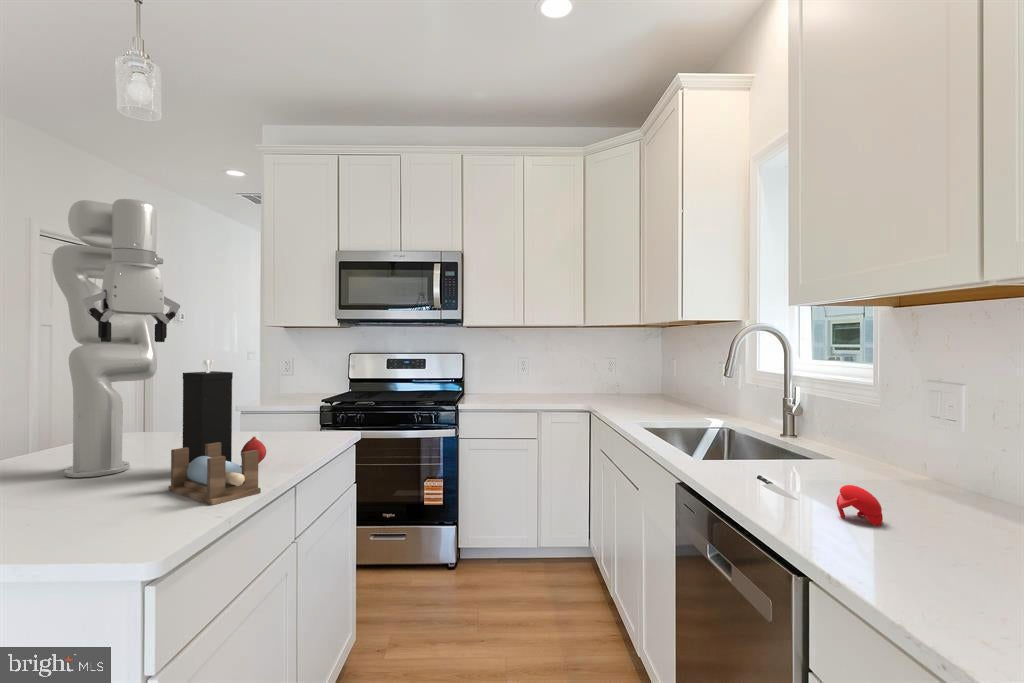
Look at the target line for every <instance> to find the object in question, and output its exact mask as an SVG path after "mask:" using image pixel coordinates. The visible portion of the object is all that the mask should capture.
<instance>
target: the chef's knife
mask: <svg viewBox="0 0 1024 683" xmlns="http://www.w3.org/2000/svg"><path fill="white" fill-rule="evenodd" d="M756 479H758V480H760V481H762V482H763V483H765V484H763V485H761V486H762V487H763V488H766V489H767V490H769V491H771V492H773V493H775V494H778V495H779V496H782V497H785V498H787V499H791V500H794V501H799V499H798V498H796V497H795V496H793V495H792V494H790V493H789V492H787V491H786V490H784V489H783V488H781V487H779V486H778V485H776V484H775V483H773V482H771V480H769V479H767V478H765V477H764V476H762V475H757V477H756Z"/></svg>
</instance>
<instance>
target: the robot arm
mask: <svg viewBox="0 0 1024 683" xmlns="http://www.w3.org/2000/svg"><path fill="white" fill-rule="evenodd" d="M157 216H158V215H157V210H156V207H155V205H153V204H152V203H150V202H147V201H143V200H139V199H132V198H119V199H115V200H114V201H113V203H107V202H101V201H96V200H95V201H94V200H89V199H88V200H87V199H83V200H82V199H81V200H77V201H75V202H74V203H73V204H72V205H71V206H70V208H69V211H68V217H67V222H68V224H67V225H68V228H69V230H70V233H71V234H72V235H73V236H74V237H75V238H78V240H80V241H81V242H82V243H84V244H85V245H82V244H65V245H61V246H58V247H57V248H55V250H54V251H53V253H52V259H51V264H52V265H51V266H52V271H53V276H54V278H55V281H56V283H57V286H58V287H59V288H60V291H61V292H62V294H63V296H64V297H65V299H66V302H67V304H68V305H67V306H68V315H69V320H70V327H71V332H72V336H73V338H74V340H75V341H76V342H77V343H78V344H80V345H78V346H77V347H75V348H73V349H72V350H71V351H70V353H69V356H68V367H69V374H70V378H71V385H72V399H73V400H72V401H73V402H72V410H73V411H72V412H73V413H72V414H73V415H72V416H73V417H72V420H73V422H72V425H73V426H72V433H73V434H72V466H71V467H68V468H66V469H65V470H64V472H63V475H64V476H65V477H67V478H93V477H101V476H107V475H112V474H117V473H121V472H124V471H127V470H129V469H130V467H131V464H130V462H128V461H123V419H124V418H123V410H124V409H123V405H124V404H123V403H124V402H123V398H122V396H121V394H120V393H119V392H118V391H117V390H116V389H115V388H113V387H112V386H111V383H116V382H134V381H135V382H137V381H146V380H149V379H151V378H153V377H154V376H155V375H156V373H157V369H158V360H157V354H156V349H155V345H154V342H155V343H165V340H166V338H167V336H168V335H167V334H168V333H167V330H168V328H167V327H168V326H167V325H168V324H169V323H170V321H172V319H174V318H175V317H176V316H177V315H176V314H177V313H178V312H179V310H180V308H181V305H180V304H179V303H177V302H176V301H173V300H172V299H170V298H168V297H167V296H164V295H165V294H164V284H163V279H162V274H161V271H160V270H161V269H159V268H157V267H158V265H163V264H164V258H162V257H159V256H158V254H157V220H158V219H157ZM90 279H94V280H95V279H96V280H102V285H101V287H100V286H99V285H97V283H94V282H93V281H91V280H90ZM165 306H167V307H169V310H168V312H167V313H164V311H165V310H164V309H165ZM145 315H148V316H149V315H150V316H151V317H152V318H153V319H154V320H155V321H156V322H157V323H155V324H154V341H153V335H152V331H151V326H150V323H149V320H148V318H147V317H146V316H145Z"/></svg>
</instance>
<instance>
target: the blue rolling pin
mask: <svg viewBox="0 0 1024 683" xmlns="http://www.w3.org/2000/svg"><path fill="white" fill-rule="evenodd" d="M208 458H212V457H208V456H200V457H197V458H196V459H194V460H193V461H192V462H191V463H189V466H188V469H187V477H188V479H189V480H190V481H193V482H196V483H199V484H202V485H206V486H207V459H208ZM244 480H245V477H244V475H243V474H242V466H240V465H239V464H238V463H237V462H233V461H232V462H229V461H226V477H225V487H226V486H230V485H236V486H239V485H241V484H243V482H244Z"/></svg>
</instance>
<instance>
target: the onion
mask: <svg viewBox="0 0 1024 683" xmlns="http://www.w3.org/2000/svg"><path fill="white" fill-rule="evenodd" d="M266 448H267V447H266V446H265V444H264V443H263V442H262V441H260V440H258V437H257V436H256V435H254V436H252V438H251V439H250V440H248V441H247V442H245V444H244V445H243V447H242V448H241V451H240V457H241V459H242V452H246V451H252V450H258V465H259V464H260V463H261V462H262V461H263V460H264V459H265V457H266V456H267V449H266Z"/></svg>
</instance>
